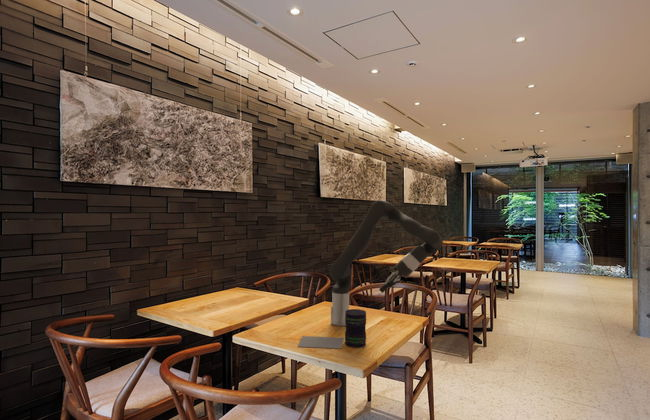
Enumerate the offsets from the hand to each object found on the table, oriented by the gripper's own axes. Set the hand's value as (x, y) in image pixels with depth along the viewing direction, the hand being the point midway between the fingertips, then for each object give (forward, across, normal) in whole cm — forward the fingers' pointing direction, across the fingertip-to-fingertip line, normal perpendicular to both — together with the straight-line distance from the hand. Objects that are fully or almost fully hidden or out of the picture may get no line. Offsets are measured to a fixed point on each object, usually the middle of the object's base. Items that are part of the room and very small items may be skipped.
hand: (380, 291), depth 171 cm
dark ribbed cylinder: (+26, 0, +10) cm, 28 cm away
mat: (+37, 0, -2) cm, 37 cm away
